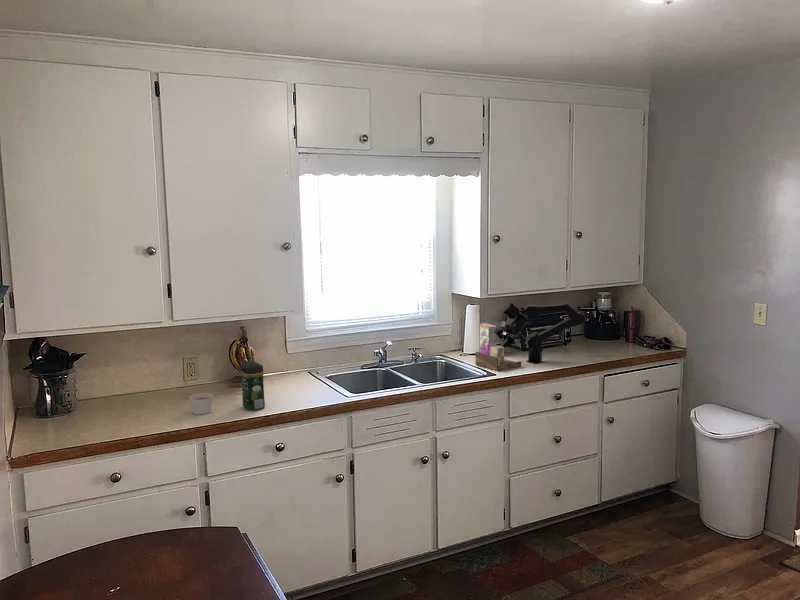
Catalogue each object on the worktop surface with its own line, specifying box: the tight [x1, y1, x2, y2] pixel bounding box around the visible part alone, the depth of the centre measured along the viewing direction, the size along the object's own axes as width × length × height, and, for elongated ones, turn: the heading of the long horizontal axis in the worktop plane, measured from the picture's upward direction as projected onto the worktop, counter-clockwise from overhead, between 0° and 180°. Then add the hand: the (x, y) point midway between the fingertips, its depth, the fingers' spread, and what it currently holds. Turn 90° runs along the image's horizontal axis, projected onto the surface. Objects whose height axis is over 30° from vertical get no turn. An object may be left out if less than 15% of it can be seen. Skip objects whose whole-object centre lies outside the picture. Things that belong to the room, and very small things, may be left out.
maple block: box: [490, 345, 505, 364], centre depth 327 cm, size 4×5×8 cm
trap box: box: [475, 351, 522, 372], centre depth 328 cm, size 16×16×7 cm
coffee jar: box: [240, 360, 266, 411], centre depth 261 cm, size 10×8×19 cm
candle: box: [188, 392, 214, 415], centre depth 256 cm, size 9×9×6 cm
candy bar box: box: [479, 322, 497, 355], centre depth 355 cm, size 11×5×16 cm, turn 22°
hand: (500, 348), depth 329 cm, fingers closed
